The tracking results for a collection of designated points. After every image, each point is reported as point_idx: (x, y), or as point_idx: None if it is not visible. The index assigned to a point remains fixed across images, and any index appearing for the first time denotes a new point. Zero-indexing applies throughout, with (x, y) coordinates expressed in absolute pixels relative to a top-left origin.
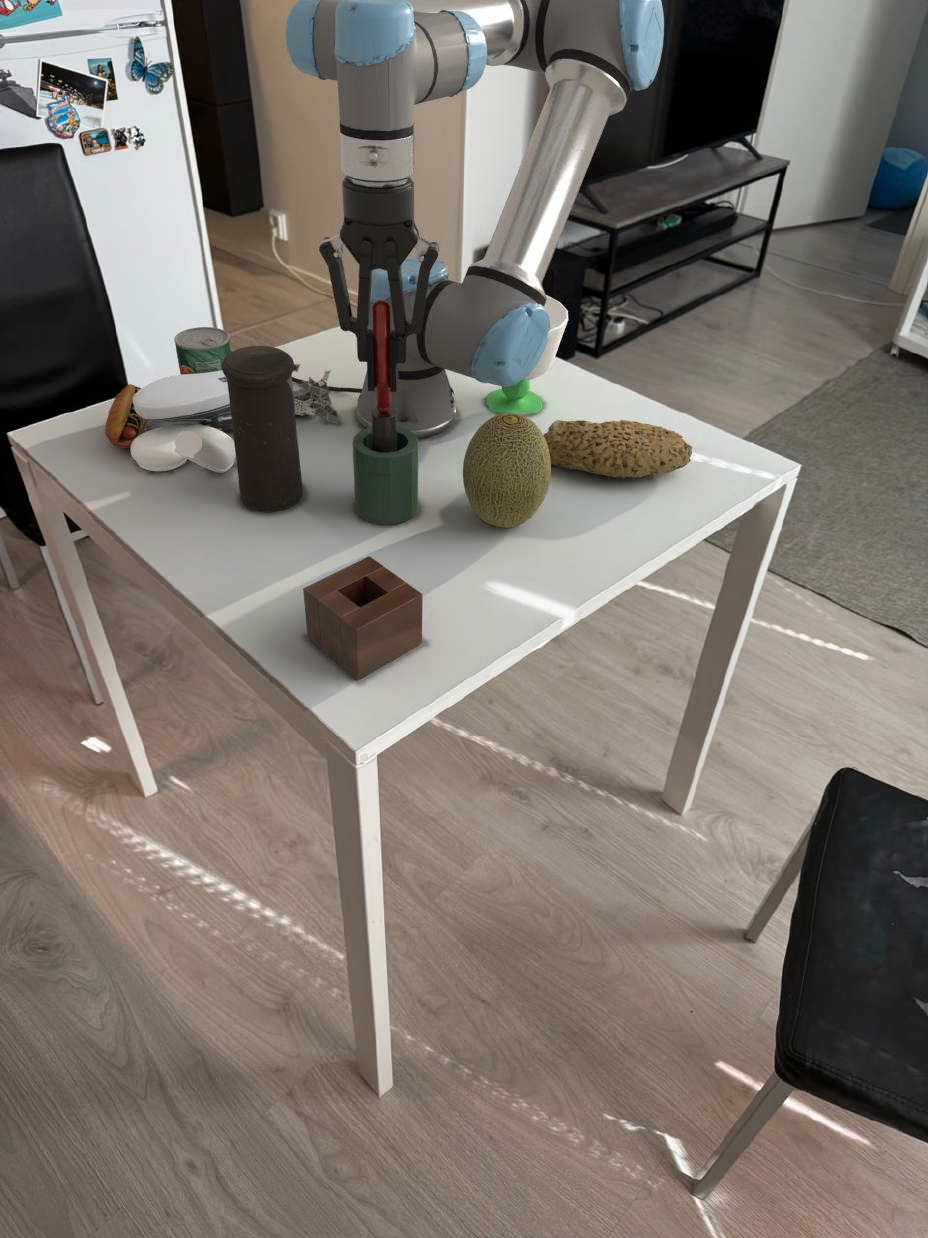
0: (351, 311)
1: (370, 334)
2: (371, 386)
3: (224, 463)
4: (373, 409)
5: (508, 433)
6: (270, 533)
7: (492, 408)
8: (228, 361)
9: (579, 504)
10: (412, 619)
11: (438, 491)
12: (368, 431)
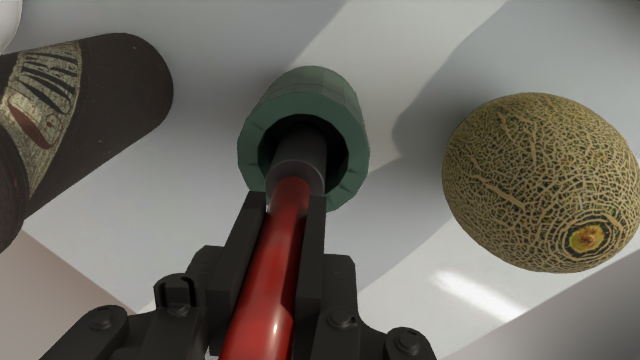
0: (104, 354)
1: (220, 327)
2: None
3: (10, 36)
4: (269, 176)
5: (561, 268)
6: (154, 180)
7: None
8: None
9: (633, 99)
10: None
11: (398, 63)
12: (264, 120)
